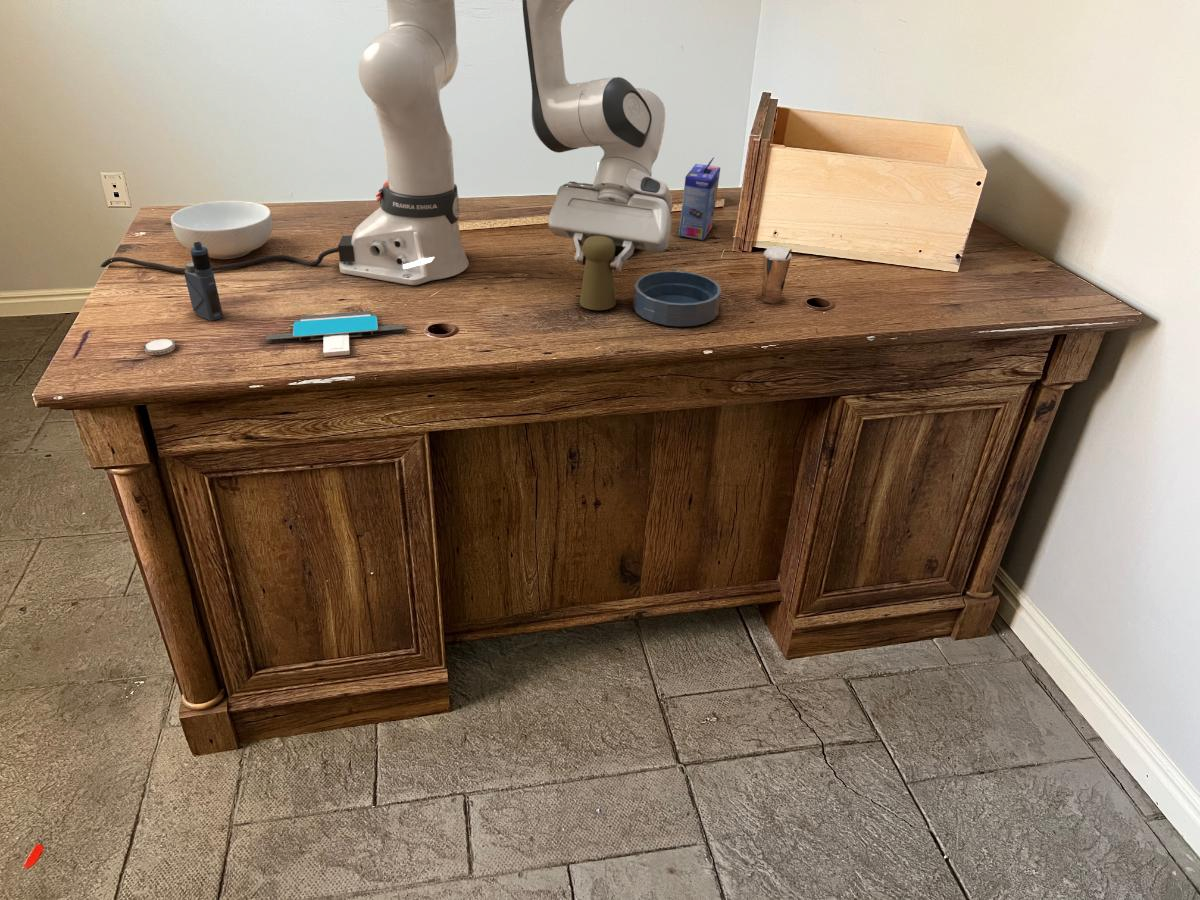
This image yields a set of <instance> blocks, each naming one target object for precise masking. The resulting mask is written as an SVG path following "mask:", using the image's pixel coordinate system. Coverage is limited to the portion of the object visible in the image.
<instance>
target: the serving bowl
mask: <svg viewBox="0 0 1200 900" xmlns="http://www.w3.org/2000/svg"><path fill="white" fill-rule="evenodd" d="M721 295H722V287H721V286H720V285H719V283H718V282H717V281H715V280H714V279H712V278H710V277H708V276H705V275H703V274H699V273H695V272H690V271H685V270H683V271H682V270H660V271H654V272H650V273H646V274H644V275H642V276H640V277H638V278H637V279H636V280H635V282H634V287H633V302H632V308H633V310H634V311H635V313H636V314H637V315H638V316H640V317H641V318H642V319H644V320H646V321H649V322H651V323H654V324H659V325H664V326H668V327H669V326H670V327H680V328H681V327H695V326H696V327H697V326H700V325H705V324H707V323H710V322H712V321H713V320H715V319H716V318H717V317H718V316H719V313H720V305H721V297H722V296H721Z"/></svg>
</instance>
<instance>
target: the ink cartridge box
mask: <svg viewBox="0 0 1200 900" xmlns="http://www.w3.org/2000/svg"><path fill="white" fill-rule="evenodd" d="M714 159H715V157H712V158H711V160H710V161H709V162H708V163H707V164H701V163H695V164H694V165H693V167H692V168H691V169H690V170H689V171H688V172H687V174H686V175H685V178H684V184H683V185H684V186H683V194H682V195H683V196H682V203H681V213H680V221H679V230H678V237H682V238H688V239H694V240H699V241H704V240H705V238H706V237H707V235H708V234H709V233H710V231H711V229H712V228H713V223H714V217H715V211H716V204H717V203H716V202H717V196H718V189H719V182H720V175H721V174H720V173H721V167H719V166H714V165H711V164H712V162H713V161H714Z"/></svg>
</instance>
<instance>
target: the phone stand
mask: <svg viewBox="0 0 1200 900" xmlns="http://www.w3.org/2000/svg"><path fill="white" fill-rule="evenodd" d="M402 333H403V334H404V333H405V325H404V324H403V323H401V324H391V325H389V324H388V325H387V324H386V325H379V323H378V317H377V315H373V312H372V310H364V311H350V312H337V313H325V314H311V315H309V314H308V315H299V316H298V320H296V321H294V322H293V329H292V332H286V333H276V334H275V333H274V334H266V335H265V340H266V344H277V343H278V344H283V343H284V344H285V343H296V342H297V343H298V342H309V341H321V340H323V343H322V344H323V345H322V346H323V347H322V348H323V349H322V350H323V352H322V354H323V358H326V357H335V356H350V355H351V351H350V338H359V337H360V338H361V337H370V336H371V337H372V336H383V335H385V336H386V335H394V334H402ZM280 346H281V345H279V347H280Z"/></svg>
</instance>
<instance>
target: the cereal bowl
mask: <svg viewBox="0 0 1200 900" xmlns="http://www.w3.org/2000/svg"><path fill="white" fill-rule="evenodd" d="M170 224H171V228H172V231H173V234H174V236H175V237H176V239H177V241H178V242H179V243H180V244H181V245H182V246H183V247H184V248H186V249H188V250H189V251H190V249H192V248H194V244H193V243H195V242H201V245H202V247H206V248H207V250H208V254H209V259H210V258H211V259H214V260H232V259H238V258H242V257H245V256H247V255H249V254H250V253H251V252H253V251H254V250H257V249H258V248H260V247H262V246H263V245H265V244H266V242H267V241H268V240H269V239H270V237H271V235H272V233H273V216H272V211H271V209H270V208H269V207H268V206H266V205H265V204H261V203H258V202H253V201H245V200H216V201H215V200H214V201H208V202H200V203H196V204H192V205H188V206H185V207H182V208H180V209H178V210H176V211H175V212H174V213H173V214H172V215H171V217H170Z"/></svg>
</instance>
